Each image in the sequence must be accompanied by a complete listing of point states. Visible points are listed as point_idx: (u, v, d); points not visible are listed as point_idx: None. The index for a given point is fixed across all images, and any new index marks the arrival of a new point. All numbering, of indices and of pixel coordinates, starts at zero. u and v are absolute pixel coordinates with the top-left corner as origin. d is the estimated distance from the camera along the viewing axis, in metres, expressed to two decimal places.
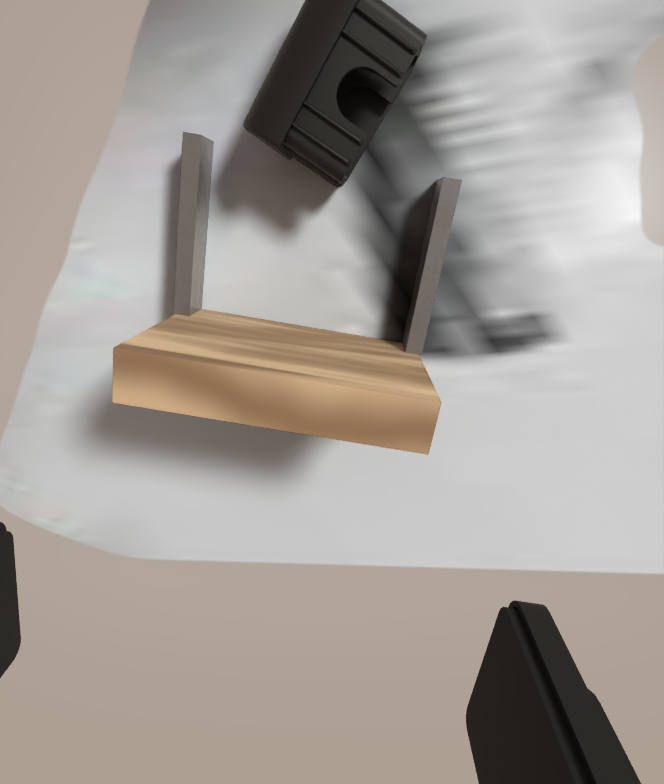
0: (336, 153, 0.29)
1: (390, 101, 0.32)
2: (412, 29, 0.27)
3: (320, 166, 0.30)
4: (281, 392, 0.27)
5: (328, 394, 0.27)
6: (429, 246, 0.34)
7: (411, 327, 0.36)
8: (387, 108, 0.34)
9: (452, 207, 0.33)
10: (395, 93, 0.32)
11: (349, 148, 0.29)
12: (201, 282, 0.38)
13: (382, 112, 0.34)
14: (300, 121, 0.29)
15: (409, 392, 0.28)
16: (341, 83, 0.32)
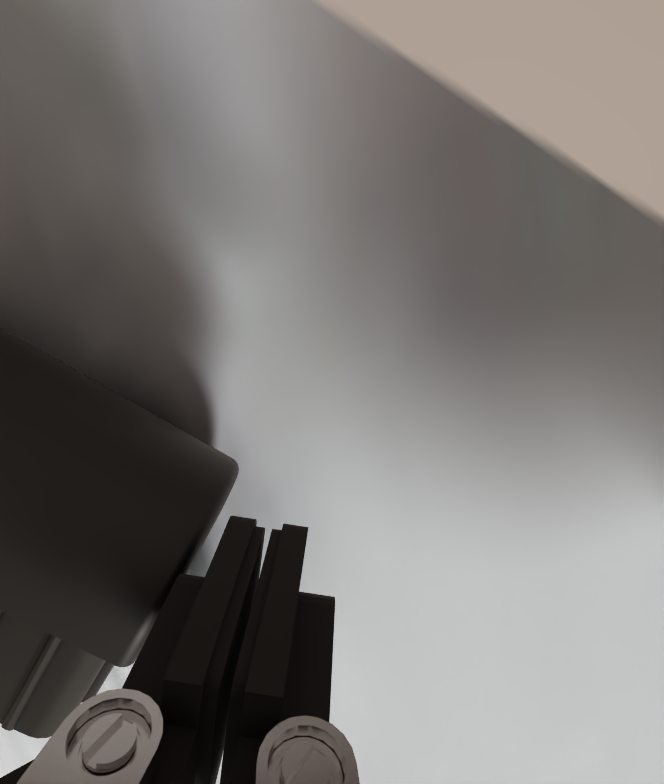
0: None
1: None
2: (56, 715, 0.11)
3: None
4: None
5: None
6: None
7: None
8: None
9: None
10: None
11: None
12: None
13: None
14: None
15: None
16: None
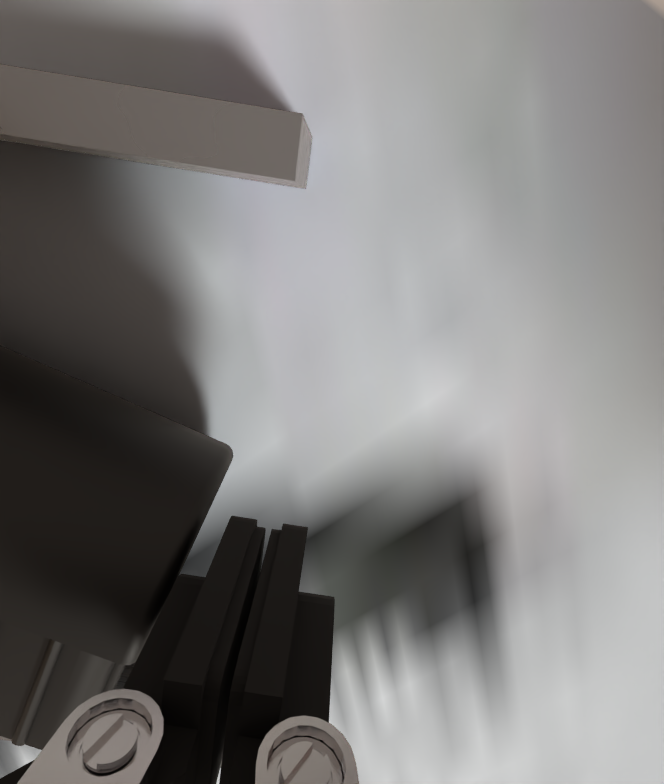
0: None
1: None
2: None
3: None
4: None
5: None
6: None
7: None
8: None
9: None
10: None
11: None
12: None
13: None
14: None
15: None
16: None
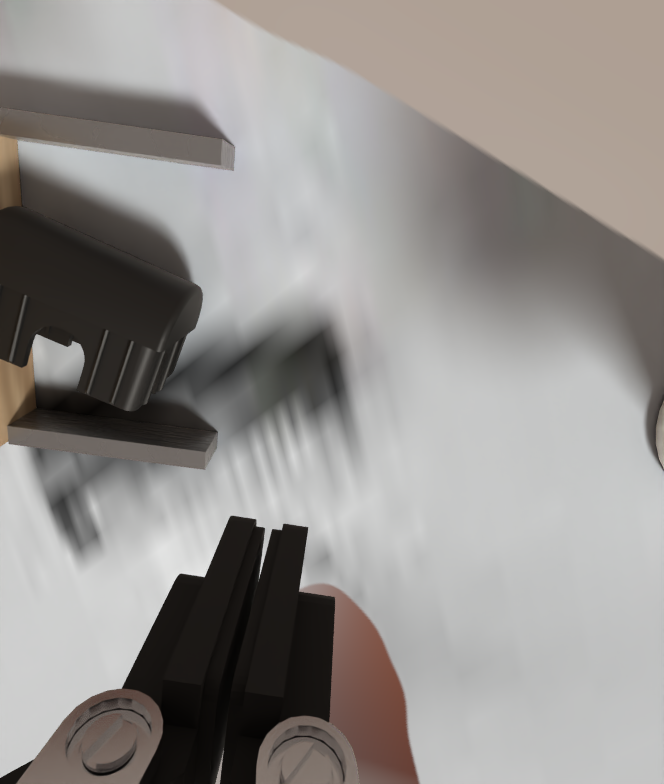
0: None
1: None
2: (132, 397, 0.26)
3: None
4: None
5: None
6: (133, 443, 0.30)
7: (39, 430, 0.30)
8: None
9: (176, 463, 0.30)
10: None
11: (0, 348, 0.25)
12: (51, 144, 0.27)
13: None
14: (8, 287, 0.24)
15: None
16: None
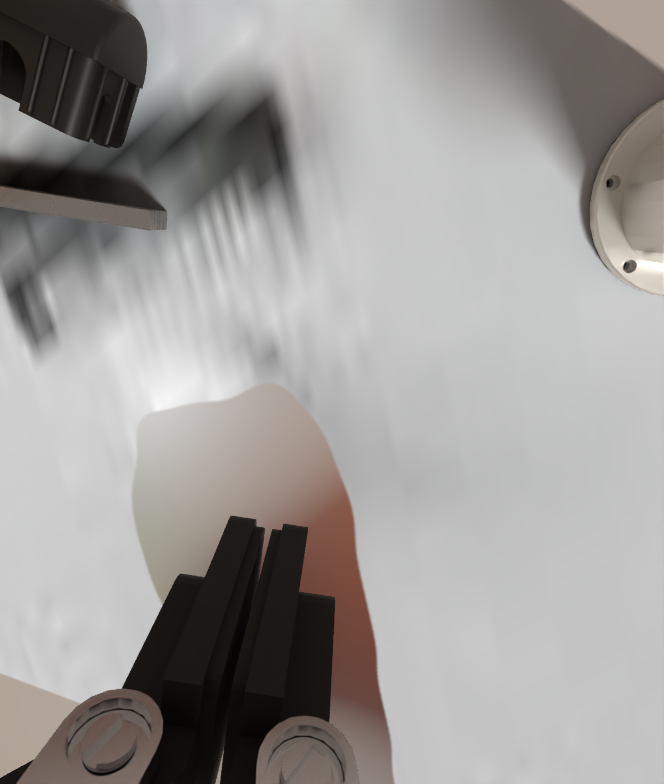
0: None
1: None
2: (72, 119, 0.27)
3: None
4: None
5: None
6: (80, 200, 0.31)
7: None
8: None
9: (122, 223, 0.32)
10: None
11: None
12: None
13: None
14: None
15: None
16: None
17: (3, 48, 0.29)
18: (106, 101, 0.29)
